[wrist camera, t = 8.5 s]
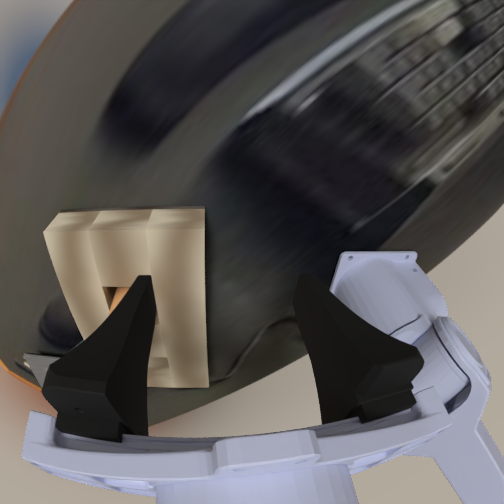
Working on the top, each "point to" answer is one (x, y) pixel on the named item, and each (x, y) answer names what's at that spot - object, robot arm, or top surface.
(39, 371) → the electrical outlet
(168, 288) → the socket board
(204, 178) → the top surface
